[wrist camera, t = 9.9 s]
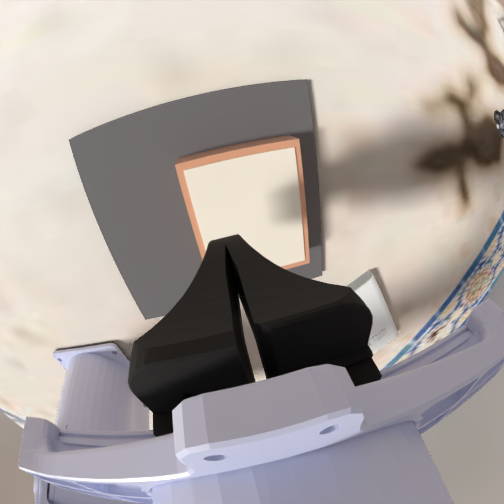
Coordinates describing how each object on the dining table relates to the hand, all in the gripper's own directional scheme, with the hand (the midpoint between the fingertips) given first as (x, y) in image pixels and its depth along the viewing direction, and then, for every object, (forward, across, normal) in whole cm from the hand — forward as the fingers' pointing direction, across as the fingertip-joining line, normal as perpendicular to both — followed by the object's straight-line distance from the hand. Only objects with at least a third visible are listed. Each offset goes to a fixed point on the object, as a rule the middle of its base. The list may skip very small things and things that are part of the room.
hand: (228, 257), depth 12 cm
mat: (+6, 0, 0) cm, 6 cm away
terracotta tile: (+4, +2, 0) cm, 5 cm away
